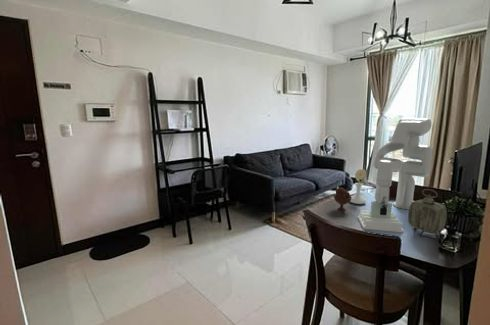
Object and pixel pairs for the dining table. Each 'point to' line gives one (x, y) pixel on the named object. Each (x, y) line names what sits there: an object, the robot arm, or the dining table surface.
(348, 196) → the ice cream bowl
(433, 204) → the tabletop clock
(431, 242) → the dining table surface
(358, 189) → the flower in vase
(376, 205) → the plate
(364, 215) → the dish rack
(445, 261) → the dining table surface
